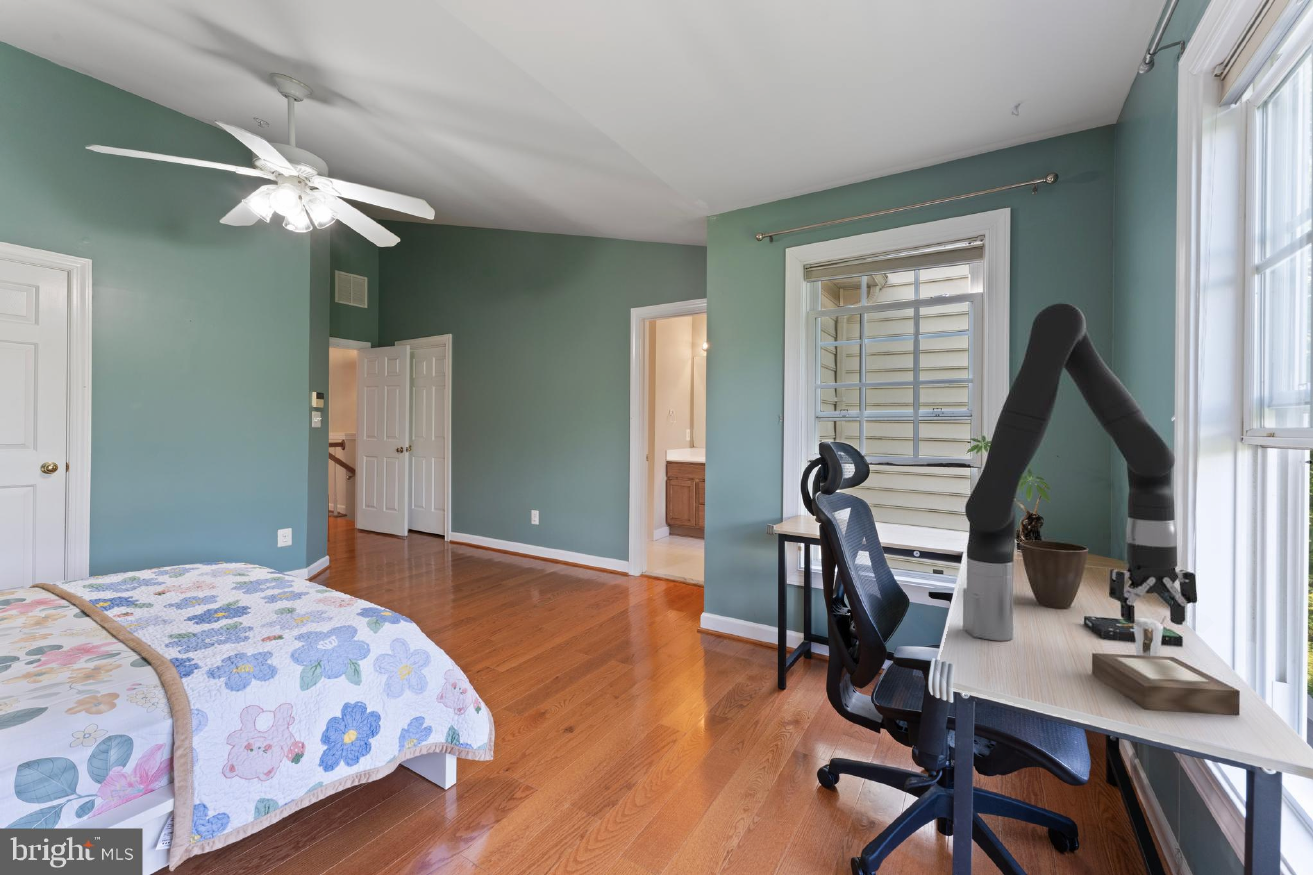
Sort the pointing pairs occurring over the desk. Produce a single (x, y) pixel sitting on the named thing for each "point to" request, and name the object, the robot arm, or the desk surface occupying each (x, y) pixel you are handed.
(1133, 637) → the disk drive
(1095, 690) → the desk surface
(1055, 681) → the desk surface
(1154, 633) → the milkshake
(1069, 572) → the plant pot
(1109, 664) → the plinth
